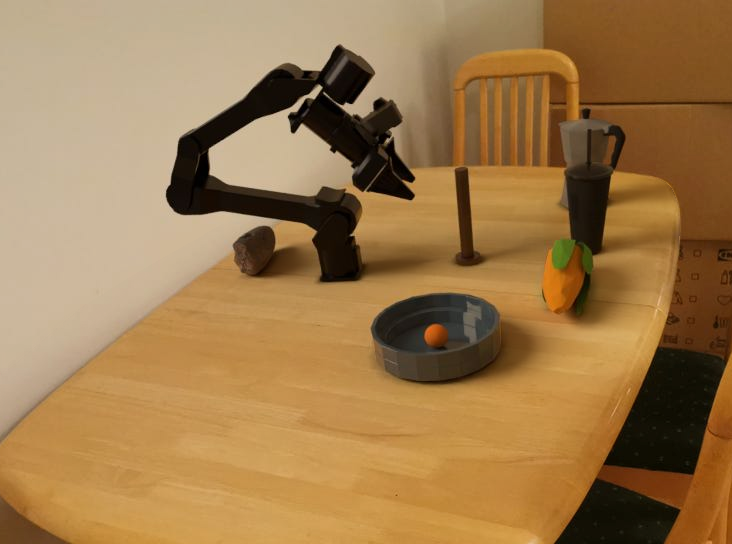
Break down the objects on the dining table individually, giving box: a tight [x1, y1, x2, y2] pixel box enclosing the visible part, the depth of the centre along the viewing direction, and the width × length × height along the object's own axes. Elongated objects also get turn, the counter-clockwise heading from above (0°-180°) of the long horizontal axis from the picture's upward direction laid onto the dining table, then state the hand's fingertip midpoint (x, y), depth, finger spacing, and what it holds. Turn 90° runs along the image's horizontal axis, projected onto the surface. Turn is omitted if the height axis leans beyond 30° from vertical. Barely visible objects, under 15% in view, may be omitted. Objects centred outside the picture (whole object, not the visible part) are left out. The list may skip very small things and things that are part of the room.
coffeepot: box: [557, 107, 627, 209], centre depth 131 cm, size 15×9×18 cm, turn 37°
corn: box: [541, 238, 595, 316], centre depth 101 cm, size 7×8×20 cm
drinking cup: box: [563, 129, 615, 256], centre depth 112 cm, size 8×8×20 cm
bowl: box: [369, 291, 502, 382], centre depth 93 cm, size 17×17×4 cm
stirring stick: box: [453, 166, 482, 267], centre depth 115 cm, size 4×4×16 cm
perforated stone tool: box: [232, 225, 277, 276], centre depth 127 cm, size 15×5×7 cm, turn 167°
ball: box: [425, 324, 448, 348], centre depth 93 cm, size 3×3×3 cm
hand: (413, 189), depth 113 cm, fingers open, 9 cm apart
